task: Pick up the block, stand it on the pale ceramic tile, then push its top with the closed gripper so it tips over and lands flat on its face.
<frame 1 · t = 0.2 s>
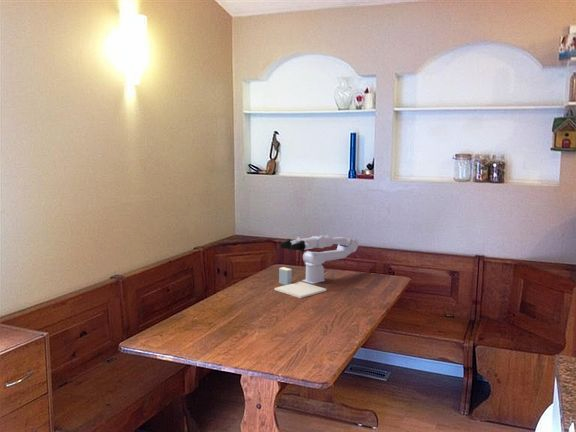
hand: (285, 246, 260), 21 cm above the table, tool horizontal, fingers open, 7 cm apart
block: (285, 283, 271), on the table
tile: (300, 290, 259), on the table
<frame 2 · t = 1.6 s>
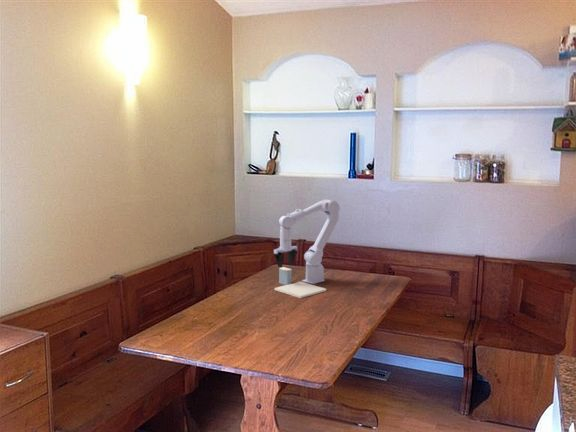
hand: (285, 265, 269), 9 cm above the table, tool pointing down, fingers open, 7 cm apart
nothing on the table moved.
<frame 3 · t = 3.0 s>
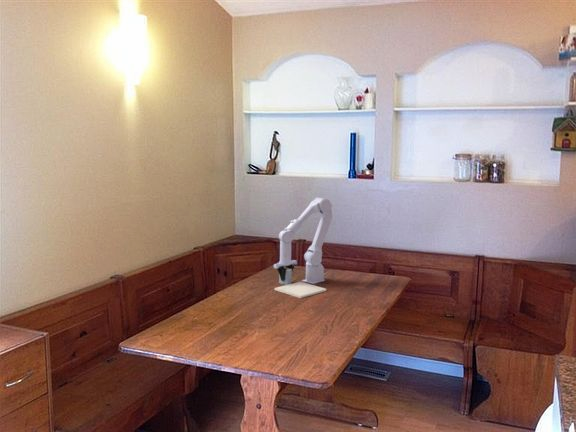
hand: (285, 279, 271), 2 cm above the table, tool pointing down, fingers closed on block, 3 cm apart
block: (285, 283, 271), on the table, touching gripper
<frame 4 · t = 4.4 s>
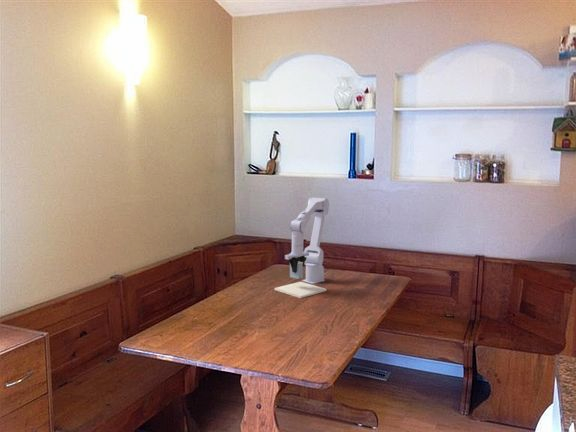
hand: (297, 271, 259), 9 cm above the table, tool pointing down, fingers closed on block, 3 cm apart
block: (296, 277, 260), point 6 cm above the table, touching gripper
when the fingers open (4 cm above the table, at t = 5.8 s): block stays where it is, resting on tile.
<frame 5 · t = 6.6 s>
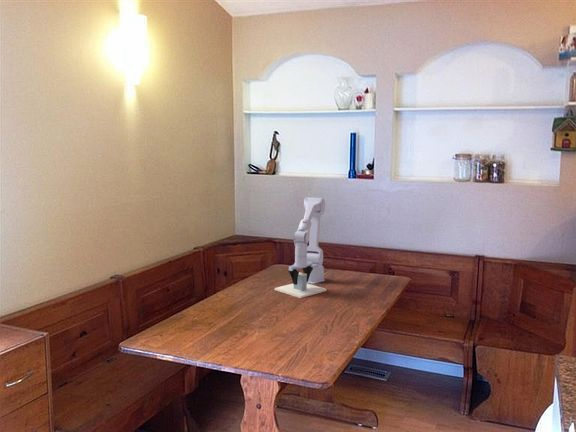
hand: (300, 282, 257), 4 cm above the table, tool pointing down, fingers open, 7 cm apart
block: (299, 289, 257), point 1 cm above the table, touching tile
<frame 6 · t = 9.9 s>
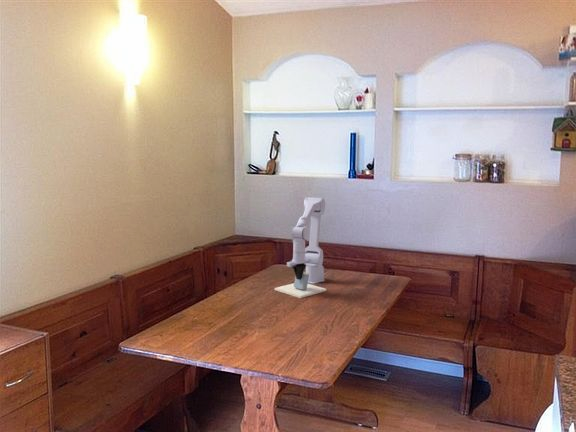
hand: (298, 279, 256), 6 cm above the table, tool pointing down, fingers closed
block: (300, 288, 257), point 1 cm above the table, tilted 13°, touching gripper, tile
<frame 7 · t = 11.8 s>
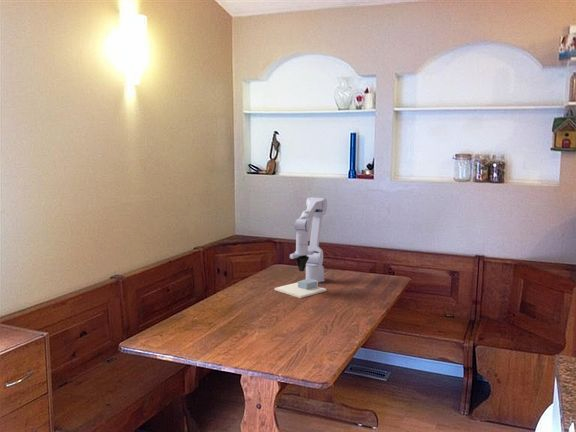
hand: (301, 270, 257), 10 cm above the table, tool pointing down, fingers closed
block: (302, 285, 258), point 2 cm above the table, tilted 90°, touching tile
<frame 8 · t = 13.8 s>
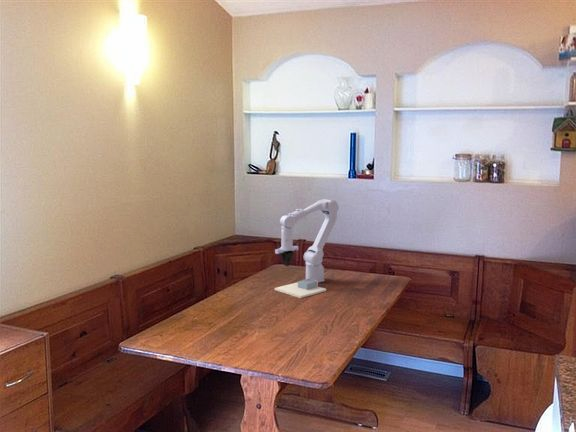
hand: (286, 265, 267), 10 cm above the table, tool pointing down, fingers closed
nothing on the table moved.
at the end: block tilted 90°; block inside the target area (0.7 cm from its centre), point 2.5 cm above the table; the gripper is holding nothing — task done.
